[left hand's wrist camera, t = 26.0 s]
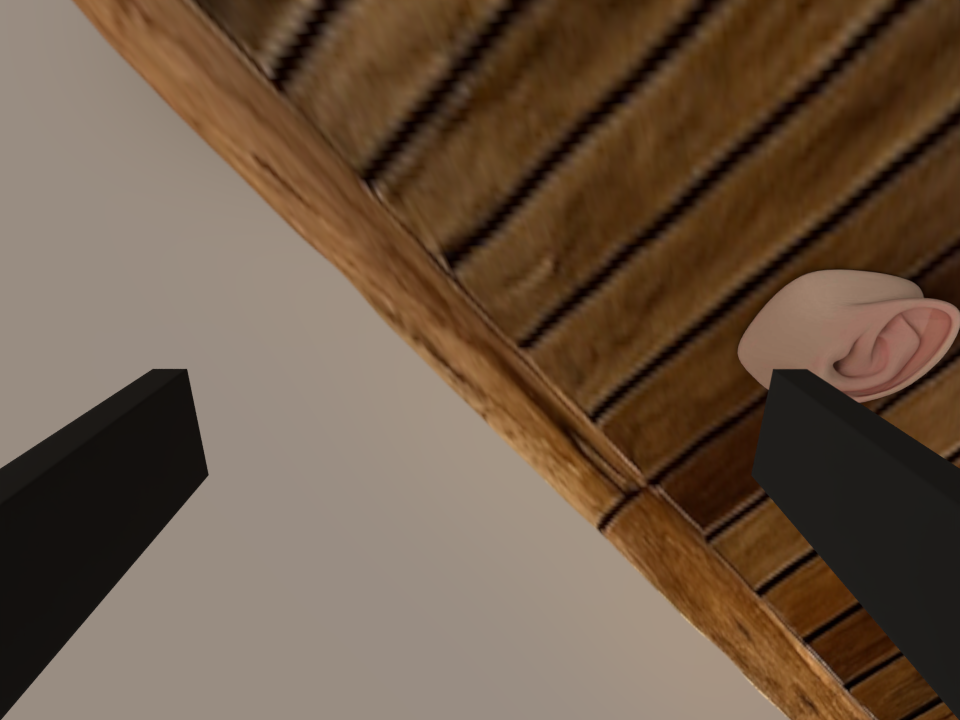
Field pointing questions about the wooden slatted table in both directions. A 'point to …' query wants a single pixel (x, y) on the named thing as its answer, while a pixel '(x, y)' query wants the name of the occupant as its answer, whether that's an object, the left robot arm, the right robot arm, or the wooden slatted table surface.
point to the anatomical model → (850, 332)
